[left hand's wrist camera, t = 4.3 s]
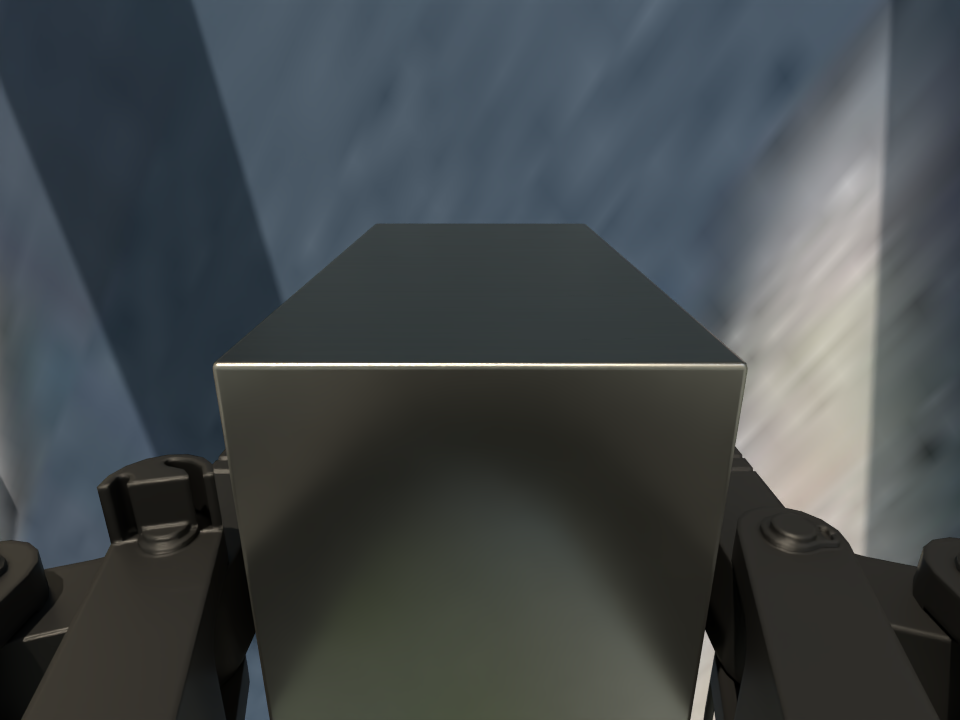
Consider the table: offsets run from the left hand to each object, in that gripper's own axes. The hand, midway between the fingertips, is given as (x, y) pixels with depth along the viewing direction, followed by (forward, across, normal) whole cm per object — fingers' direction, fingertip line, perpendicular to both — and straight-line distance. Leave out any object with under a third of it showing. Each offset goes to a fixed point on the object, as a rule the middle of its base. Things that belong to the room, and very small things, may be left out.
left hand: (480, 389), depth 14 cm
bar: (+1, 0, -8) cm, 8 cm away
